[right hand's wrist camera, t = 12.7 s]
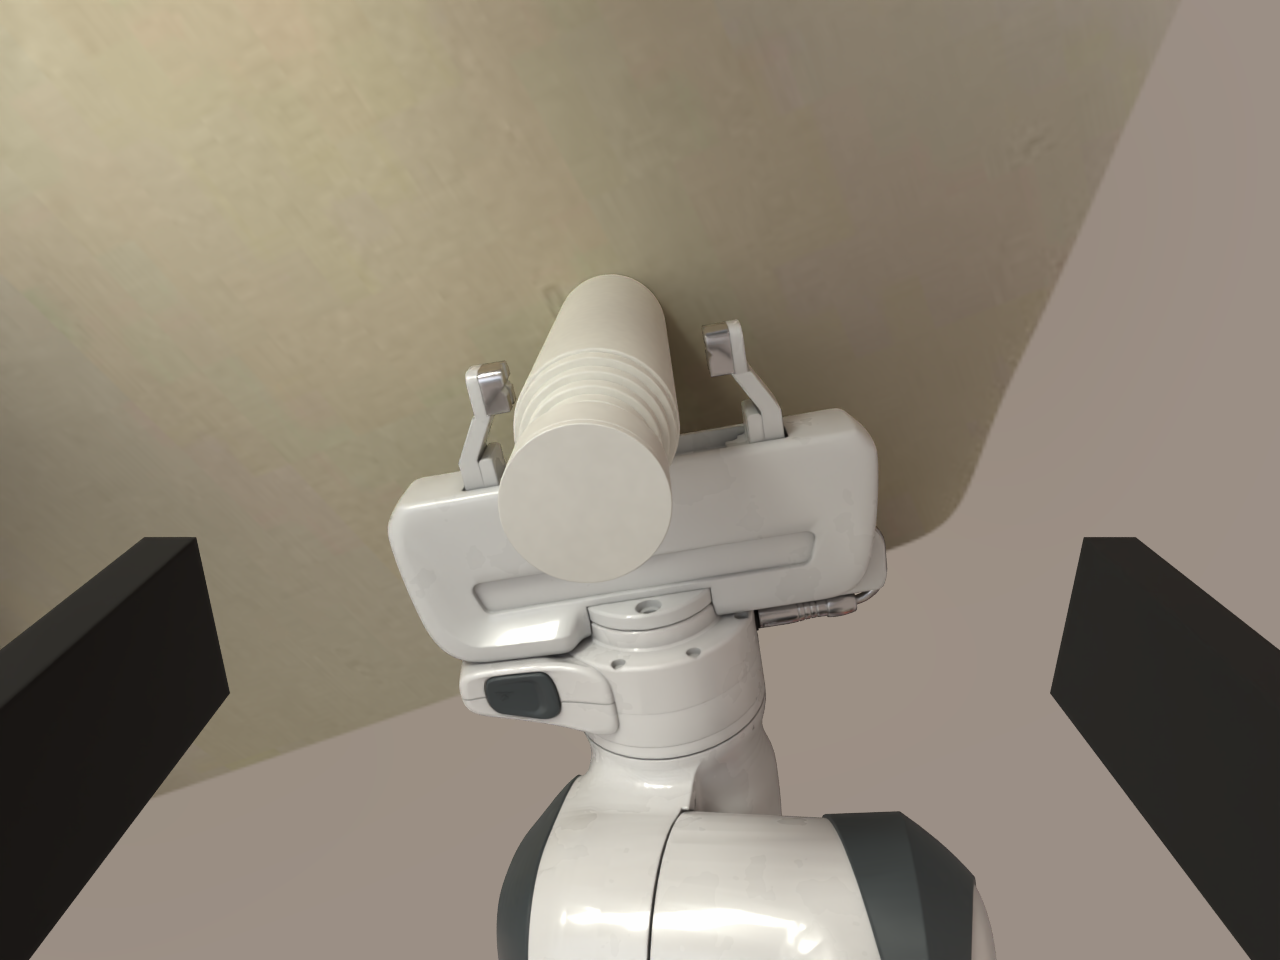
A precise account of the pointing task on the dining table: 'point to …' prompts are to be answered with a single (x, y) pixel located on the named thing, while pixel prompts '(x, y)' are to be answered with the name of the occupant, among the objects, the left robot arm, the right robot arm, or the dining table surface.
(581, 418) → the cap
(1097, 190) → the dining table surface
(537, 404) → the bottle
